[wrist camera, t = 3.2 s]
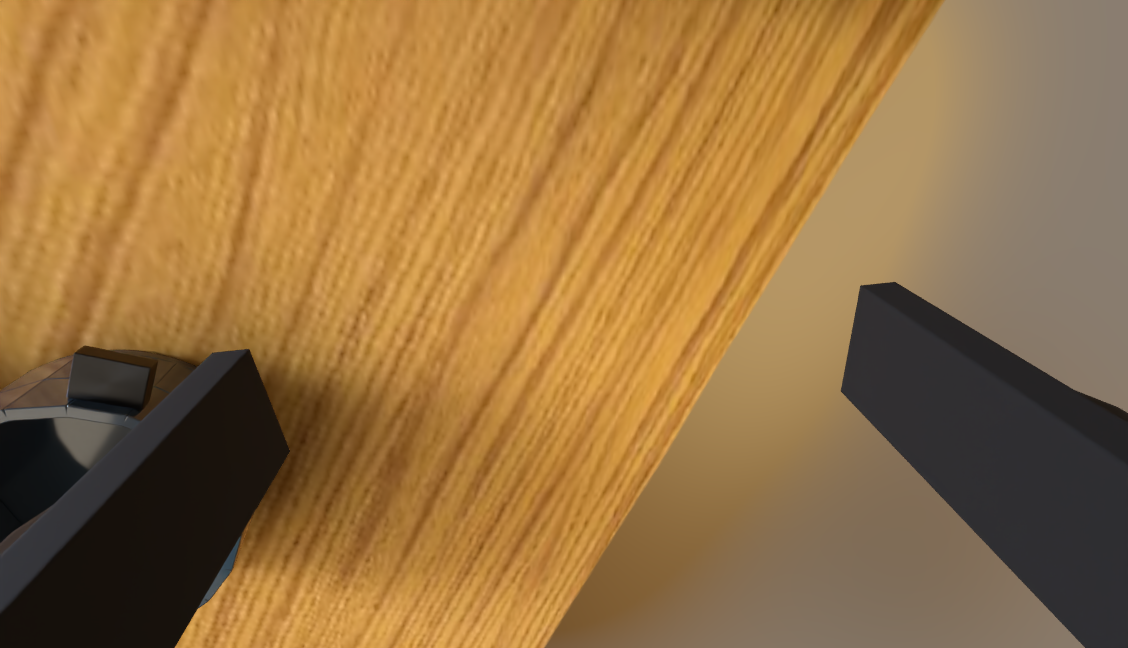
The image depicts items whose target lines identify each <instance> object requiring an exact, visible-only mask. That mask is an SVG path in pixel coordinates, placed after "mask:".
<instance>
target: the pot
mask: <svg viewBox="0 0 1128 648" xmlns="http://www.w3.org/2000/svg"><path fill="white" fill-rule="evenodd" d="M109 351H114V352H119V353H124V354H129V355H134V356H139V357H144V358H149V359H154V360H158V365H157V370H156V375H155V379H154V384H153V389H152V393H151V398H150V402H149V403H148V404H147V405H146V406H145V407H144V408H143V409H142V410H137V409H132V408H128V407H122V406H116V405H110V404H104V403H98V402H93V401H87V400H81V399H73V398H67V397H66V395H67V390H68V384H69V378H70V373H71V367H72V361H73V355H71V356H67V357H63V358H60V359H57V360H54V361H52V362H49V363H47V364H44V365H42V366H40V367H38V368H35V369H33V370H30V371H29V372H27V373H26V374H24V375H23V376H21V377H20V378H18V379H17V380H15V381H14V382H12V383H11V384H9V385H8V386H6V387H5V388H3V389H2V390H0V543H1V542H2V541H3V540H4V539H5V538H6V537H7V536H8V535H9V534H11V533H12V532H13V531H15V530H16V529H18V528H19V527H21V526H22V525H24V524H25V523H27V522H28V521H30V520H31V519H33V518H34V517H36V516H37V515H39V514H40V513H42V512H43V511H45V510H46V509H48V508H49V507H51V506H52V505H53V504H54V503H56V502H57V501H58V500H59V499H60V498H61V497H62V496H63V495H64V494H65V493H66V492H67V491H68V490H69V489H70V488H71V487H72V486H73V485H74V484H75V483H76V482H78V481H79V480H80V479H81V478H82V477H83V476H84V475H85V474H86V473H87V472H88V471H89V470H90V469H91V468H92V467H93V466H94V465H95V464H96V463H97V462H98V461H100V460H101V459H102V458H103V457H104V456H105V455H106V454H107V453H108V452H109V451H110V450H111V449H112V448H113V447H114V446H115V445H116V444H117V443H118V442H119V441H120V440H122V439H123V438H124V437H125V436H126V435H127V434H128V433H129V432H130V431H131V430H132V429H133V428H134V427H135V426H136V425H137V424H138V423H139V422H140V421H141V420H142V419H144V418H145V417H146V416H147V415H148V414H149V413H150V412H151V411H152V410H153V409H154V408H155V407H156V406H157V405H158V404H159V403H160V402H161V401H162V400H163V399H165V398H166V397H167V396H168V395H169V394H170V393H171V392H172V391H173V390H174V389H175V388H176V387H177V386H178V385H179V384H180V383H181V382H182V381H183V380H184V379H185V378H187V377H188V376H189V375H190V374H191V373H192V372H193V371H194V370H195V369H196V368H197V366H195V365H192V364H189V363H187V362H184V361H181V360H179V359H176V358H172V357H168V356H164V355H160V354H155V353H149V352H143V351H132V350H109ZM253 515H254V514H253ZM253 515H252V517H253ZM252 517H251V519H250V520H249V522H248V524H247V526H246V527H245V529H244V531H243V532H242V534H241V536H240V537H239V539H238V541H237V543H236V544H235V546H234V548H233V549H232V551H231V553H230V554H229V556H228V558H227V559H226V561H225V563H224V565H223V566H222V568H221V570H220V571H219V573H218V575H217V576H216V578H215V580H214V582H213V583H212V585H211V587H210V588H209V590H208V592H207V593H206V595H205V597H204V599H203V600H202V602H201V604H200V605H199V607H198V608H200V607H201V606H202V605H204V604H205V603H207V602H208V601H209V600H210V599H211V598H212V597H213V595H214V594H215V593H216V591H217V590H218V589H219V587H220V586H221V585H222V583H223V582H224V581H225V580H226V578H227V577H228V576H229V574H230V573H231V572H232V570H233V568H234V565H235V563H236V560H237V557H238V555H239V552H240V549H241V547H242V544H243V541H244V539H245V536H246V533H247V530H248V528H249V525H250V523H251V520H252Z"/></svg>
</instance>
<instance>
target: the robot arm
mask: <svg viewBox="0 0 1128 648" xmlns="http://www.w3.org/2000/svg"><path fill="white" fill-rule="evenodd" d="M841 392H842V393H843V394H844V395H845V396H846V397H847V398H848V399H849V400H850V401H851V402H852V404H854V406H855V407H856V408H857V409H858V410H859V411H860V412H861V413H862V414H863V415H864V416H865V417H866V418H867V419H868V420H869V421H870V422H871V423H872V424H873V426H874V427H875V428H876V429H877V430H878V431H879V432H880V433H881V434H882V435H883V436H884V437H885V438H886V439H887V440H888V441H889V442H890V443H891V444H892V446H893V447H895V449H896V450H897V451H898V452H899V453H900V454H901V455H902V456H903V457H904V458H905V459H906V460H907V461H908V462H909V463H910V464H911V465H912V467H914V468H915V470H916V471H917V472H918V473H919V474H920V475H921V476H922V477H923V478H924V479H925V480H926V481H927V482H928V483H929V484H930V485H931V486H932V487H933V488H934V489H935V491H936V492H937V493H938V494H939V495H940V496H941V497H942V498H943V499H944V500H945V501H946V502H947V503H948V504H949V505H950V506H951V507H952V508H953V510H954V511H955V512H956V513H957V514H958V515H959V516H960V517H961V518H962V519H963V520H964V521H965V522H966V523H967V524H968V525H969V526H970V527H971V528H972V529H973V530H974V532H975V533H976V534H977V535H978V536H979V537H980V538H981V539H982V540H983V541H984V542H985V543H986V544H987V545H988V546H989V547H990V548H991V549H992V550H993V551H994V553H995V554H996V555H997V556H998V557H999V558H1000V559H1001V560H1002V561H1003V562H1004V563H1005V564H1006V565H1007V566H1008V567H1009V568H1010V569H1011V570H1012V571H1013V572H1014V573H1015V574H1016V575H1017V577H1018V578H1019V579H1020V580H1021V581H1022V582H1023V583H1024V584H1025V585H1026V586H1027V587H1028V588H1029V589H1030V590H1031V591H1032V592H1033V593H1034V594H1035V596H1036V597H1037V598H1038V599H1039V600H1040V601H1041V602H1042V603H1043V604H1044V605H1045V606H1046V607H1047V608H1048V609H1049V610H1050V611H1051V612H1052V613H1053V614H1054V615H1055V617H1056V618H1057V619H1058V620H1059V621H1060V622H1061V623H1062V624H1063V625H1064V626H1065V627H1066V628H1067V629H1068V630H1069V631H1070V632H1071V633H1072V634H1073V635H1074V636H1075V638H1076V639H1077V640H1078V641H1079V642H1080V643H1081V644H1082V645H1083V646H1084V647H1085V648H1128V413H1127V412H1125V411H1123V410H1121V409H1120V408H1118V407H1116V406H1113V405H1111V404H1108V403H1106V402H1103V401H1101V400H1098V399H1096V398H1093V397H1091V396H1088V395H1085V394H1083V393H1080V392H1077V391H1075V390H1073V389H1071V388H1070V387H1068V386H1067V385H1065V384H1063V383H1062V382H1060V381H1058V380H1057V379H1055V378H1053V377H1052V376H1050V375H1048V374H1047V373H1045V372H1043V371H1042V370H1040V369H1038V368H1037V367H1035V366H1033V365H1032V364H1030V363H1028V362H1027V361H1025V360H1023V359H1022V358H1020V357H1018V356H1017V355H1015V354H1013V353H1012V352H1010V351H1009V350H1007V349H1005V348H1003V347H1002V346H1000V345H999V344H997V343H995V342H994V341H992V340H990V339H989V338H987V337H985V336H983V335H982V334H980V333H979V332H977V331H975V330H974V329H972V328H970V327H969V326H967V325H965V324H964V323H962V322H960V321H959V320H957V319H955V318H954V317H952V316H950V315H949V314H947V313H946V312H944V311H942V310H941V309H939V308H937V307H935V306H934V305H932V304H931V303H929V302H927V301H926V300H924V299H922V298H921V297H919V296H917V295H916V294H914V293H912V292H911V291H909V290H907V289H906V288H904V287H902V286H901V285H899V284H897V283H896V282H890V283H881V284H873V285H872V284H871V285H863V286H862V285H861V286H860V291H859V296H858V302H857V307H856V312H855V318H854V323H853V329H852V334H851V339H850V345H849V350H848V356H847V361H846V366H845V372H844V377H843V383H842V388H841ZM289 452H290V450H289V447H288V445H287V442H286V440H285V437H284V435H283V432H282V430H281V427H280V425H279V422H278V420H277V417H276V415H275V412H274V410H273V407H272V405H271V402H270V400H269V397H268V395H267V392H266V390H265V387H264V385H263V382H262V380H261V377H260V375H259V372H258V370H257V367H256V365H255V362H254V360H253V357H252V355H251V352H250V350H249V349H245V350H235V351H225V352H216V353H212V354H211V355H210V356H209V357H207V358H206V359H205V360H204V361H203V362H202V363H201V364H200V365H199V366H198V367H197V368H196V369H195V370H194V371H193V372H192V373H191V374H190V375H189V376H188V377H187V378H185V379H184V380H183V381H182V382H181V383H180V384H179V385H178V386H177V387H176V388H175V389H174V390H173V391H172V392H171V393H170V394H169V395H168V396H167V397H166V398H165V399H163V400H162V401H161V402H160V403H159V404H158V405H157V406H156V407H155V408H154V409H153V410H152V411H151V412H150V413H149V414H148V415H147V416H146V417H145V418H144V419H142V420H141V421H140V422H139V423H138V424H137V425H136V426H135V427H134V428H133V429H132V430H131V431H130V432H129V433H128V434H127V435H126V436H125V437H124V438H123V439H122V440H120V441H119V442H118V443H117V444H116V445H115V446H114V447H113V448H112V449H111V450H110V451H109V452H108V453H107V454H106V455H105V456H104V457H103V458H102V459H101V460H100V461H98V462H97V463H96V464H95V465H94V466H93V467H92V468H91V469H90V470H89V471H88V472H87V473H86V474H85V475H84V476H83V477H82V478H81V479H80V480H79V481H78V482H76V483H75V484H74V485H73V486H72V487H71V488H70V489H69V490H68V491H67V492H66V493H65V494H64V495H63V496H62V497H61V498H60V499H59V500H58V501H57V502H56V503H54V504H53V505H52V506H51V507H49V508H48V509H46V510H45V511H43V512H42V513H40V514H39V515H37V516H36V517H34V518H33V519H31V520H30V521H28V522H27V523H25V524H24V525H22V526H21V527H19V528H18V529H16V530H15V531H13V532H12V533H11V534H9V535H8V536H7V537H6V538H5V539H4V540H3V541H2V542H1V543H0V648H175V646H176V644H177V643H178V641H179V639H180V638H181V636H182V634H183V633H184V631H185V629H186V627H187V626H188V624H189V622H190V621H191V619H192V617H193V616H194V614H195V612H196V610H197V609H198V607H199V605H200V604H201V602H202V600H203V599H204V597H205V595H206V593H207V592H208V590H209V588H210V587H211V585H212V583H213V582H214V580H215V578H216V576H217V575H218V573H219V571H220V570H221V568H222V566H223V565H224V563H225V561H226V559H227V558H228V556H229V554H230V553H231V551H232V549H233V548H234V546H235V544H236V543H237V541H238V539H239V537H240V536H241V534H242V532H243V531H244V529H245V527H246V526H247V524H248V522H249V520H250V519H251V517H252V515H253V514H254V512H255V510H256V509H257V507H258V505H259V503H260V502H261V500H262V498H263V497H264V495H265V493H266V492H267V490H268V488H269V486H270V485H271V483H272V481H273V480H274V478H275V476H276V475H277V473H278V471H279V469H280V468H281V466H282V464H283V463H284V461H285V459H286V458H287V456H288V454H289Z"/></svg>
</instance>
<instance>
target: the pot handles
mask: <svg viewBox="0 0 1128 648" xmlns="http://www.w3.org/2000/svg"><path fill="white" fill-rule="evenodd" d="M157 365H158V360H154V359H149V358H144V357H139V356H134V355H129V354H124V353H119V352H114V351H109V350H104V349H99V348H95V347H90V346H83V347H82V348H80V349H79V350H78V351H76V352H75V353H74V355H73V361H72V367H71V373H70V378H69V384H68V390H67V395H66V397H67V398H73V399H81V400H87V401H93V402H98V403H104V404H110V405H116V406H122V407H128V408H132V409H137V410H142V409H143V408H144V407H145V406H146V405H147V404H148V403H149V402H150V398H151V393H152V389H153V384H154V379H155V375H156V370H157Z"/></svg>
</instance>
